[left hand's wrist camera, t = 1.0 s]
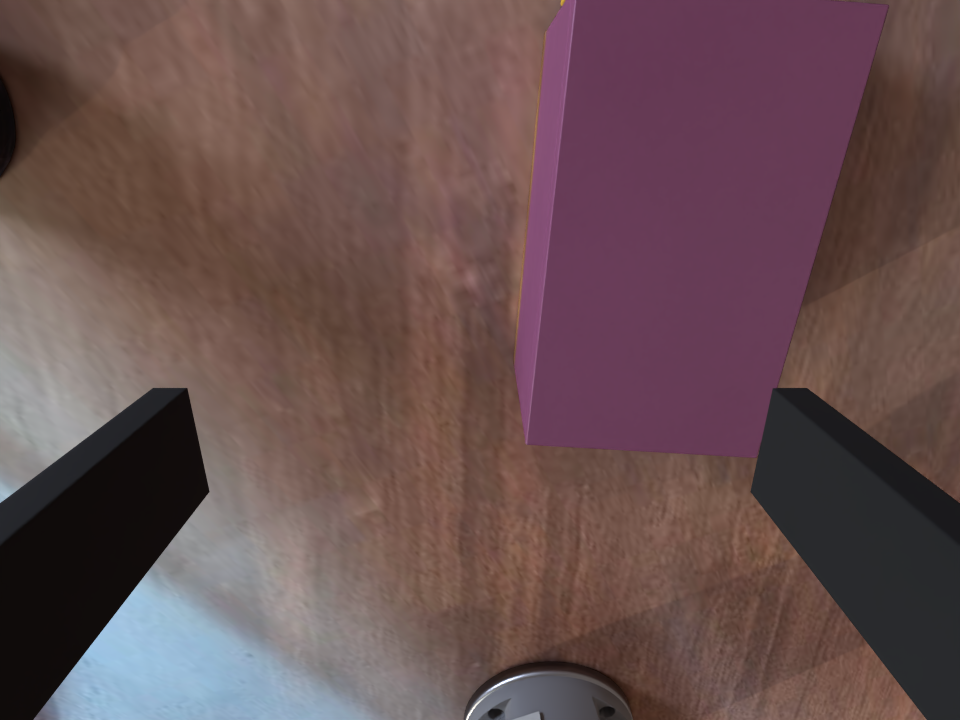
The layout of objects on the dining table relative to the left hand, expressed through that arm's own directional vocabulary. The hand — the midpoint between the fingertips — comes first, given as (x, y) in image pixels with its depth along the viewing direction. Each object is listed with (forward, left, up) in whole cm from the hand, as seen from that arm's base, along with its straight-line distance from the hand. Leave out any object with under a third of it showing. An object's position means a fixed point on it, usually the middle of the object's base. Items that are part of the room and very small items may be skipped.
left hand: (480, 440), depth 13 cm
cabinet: (+1, -9, -24) cm, 25 cm away
